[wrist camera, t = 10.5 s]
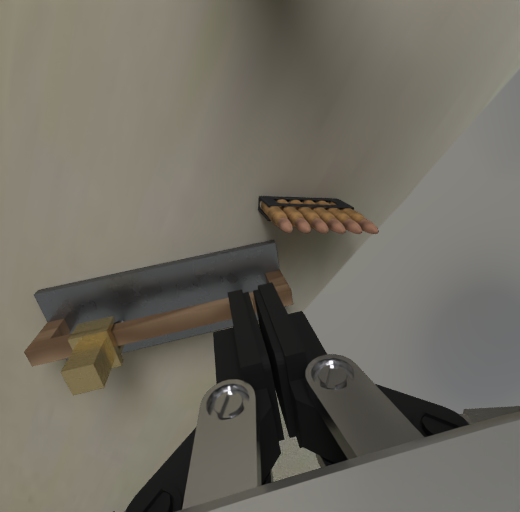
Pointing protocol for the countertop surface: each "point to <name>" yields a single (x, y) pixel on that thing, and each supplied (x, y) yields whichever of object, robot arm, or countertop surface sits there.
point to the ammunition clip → (313, 215)
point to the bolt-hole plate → (162, 290)
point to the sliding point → (91, 356)
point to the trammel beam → (146, 324)
